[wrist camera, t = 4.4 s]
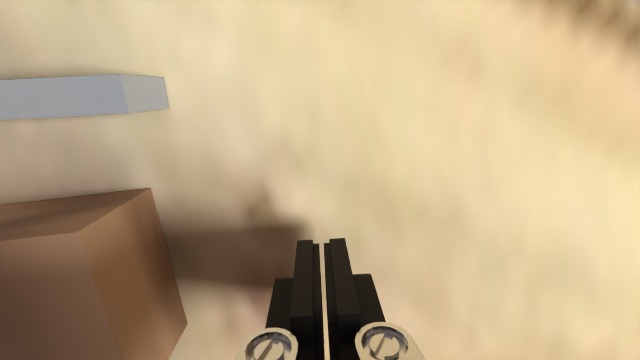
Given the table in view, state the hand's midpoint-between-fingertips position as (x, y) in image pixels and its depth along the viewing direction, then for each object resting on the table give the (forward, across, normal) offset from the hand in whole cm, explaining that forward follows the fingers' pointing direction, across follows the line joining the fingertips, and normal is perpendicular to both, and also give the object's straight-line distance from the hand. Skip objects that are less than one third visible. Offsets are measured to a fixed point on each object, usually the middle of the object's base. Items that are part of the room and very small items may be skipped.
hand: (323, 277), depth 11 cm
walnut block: (+2, +9, 0) cm, 9 cm away
